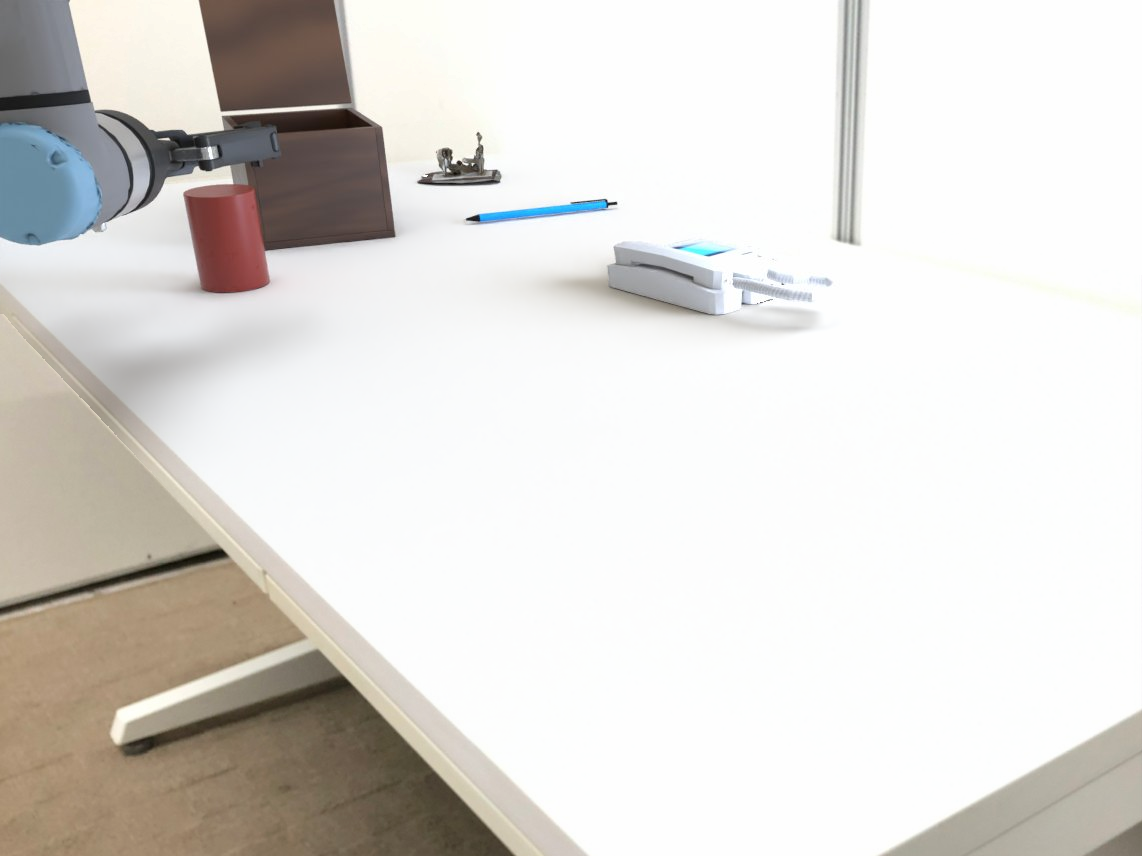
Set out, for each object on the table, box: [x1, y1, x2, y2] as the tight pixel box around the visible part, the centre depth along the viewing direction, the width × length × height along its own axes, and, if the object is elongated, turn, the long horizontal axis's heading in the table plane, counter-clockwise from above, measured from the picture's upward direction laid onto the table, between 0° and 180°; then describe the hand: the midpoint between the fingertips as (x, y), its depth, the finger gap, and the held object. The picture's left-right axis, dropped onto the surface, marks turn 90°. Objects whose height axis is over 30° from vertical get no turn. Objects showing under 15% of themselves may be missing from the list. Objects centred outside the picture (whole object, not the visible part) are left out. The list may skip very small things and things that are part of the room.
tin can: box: [182, 183, 271, 293], centre depth 126 cm, size 6×6×9 cm
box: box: [221, 106, 396, 251], centre depth 147 cm, size 17×15×12 cm
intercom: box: [606, 238, 841, 316], centre depth 122 cm, size 13×4×25 cm
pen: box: [464, 198, 618, 223], centre depth 155 cm, size 1×19×1 cm, turn 118°
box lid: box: [198, 0, 353, 113], centre depth 149 cm, size 17×15×1 cm
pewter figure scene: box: [417, 131, 502, 184], centre depth 175 cm, size 12×6×11 cm
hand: (180, 142), depth 115 cm, fingers open, 13 cm apart
